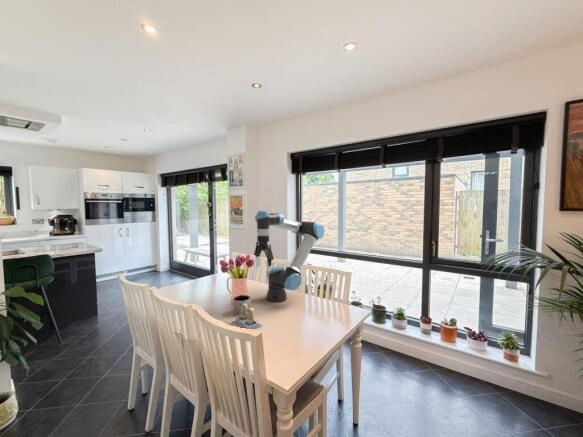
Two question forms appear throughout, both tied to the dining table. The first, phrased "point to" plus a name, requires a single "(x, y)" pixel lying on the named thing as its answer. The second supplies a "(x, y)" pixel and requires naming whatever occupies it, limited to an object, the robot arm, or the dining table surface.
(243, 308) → the peg
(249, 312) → the peg
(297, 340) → the dining table surface
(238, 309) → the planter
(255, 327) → the board
